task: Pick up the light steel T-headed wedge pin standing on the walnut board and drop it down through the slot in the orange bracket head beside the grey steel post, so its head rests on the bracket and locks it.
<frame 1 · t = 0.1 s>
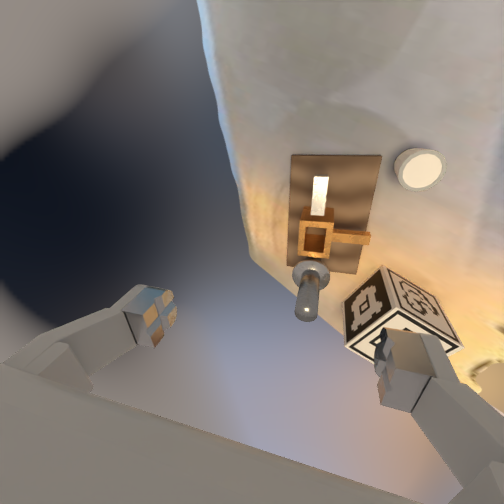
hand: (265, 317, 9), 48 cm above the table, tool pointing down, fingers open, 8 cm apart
wedge pin: (321, 184, 51), point 1 cm above the table, touching base board
base board: (326, 217, 55), on the table
ringlock node: (328, 265, 48), on the base board, point 12 cm above the table
white short cylinder: (410, 163, 46), on the table
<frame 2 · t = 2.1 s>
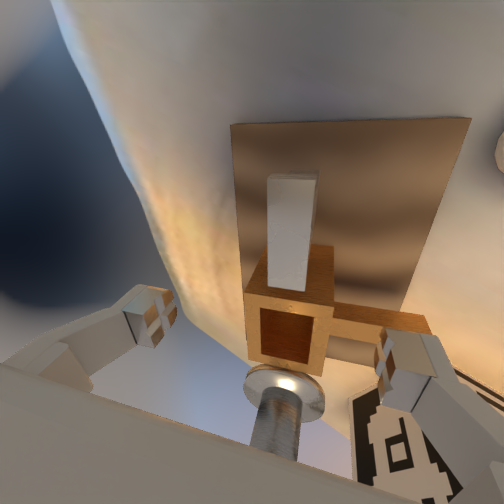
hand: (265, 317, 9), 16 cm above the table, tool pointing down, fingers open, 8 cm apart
wedge pin: (303, 192, 21), point 1 cm above the table, touching base board
base board: (318, 262, 26), on the table
ringlock node: (319, 398, 19), on the base board, point 12 cm above the table
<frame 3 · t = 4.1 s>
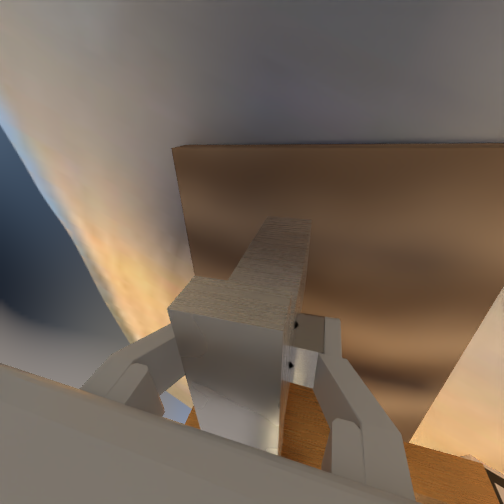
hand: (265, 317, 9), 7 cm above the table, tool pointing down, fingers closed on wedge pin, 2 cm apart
wedge pin: (287, 250, 14), point 1 cm above the table, touching base board, gripper
base board: (312, 333, 19), on the table
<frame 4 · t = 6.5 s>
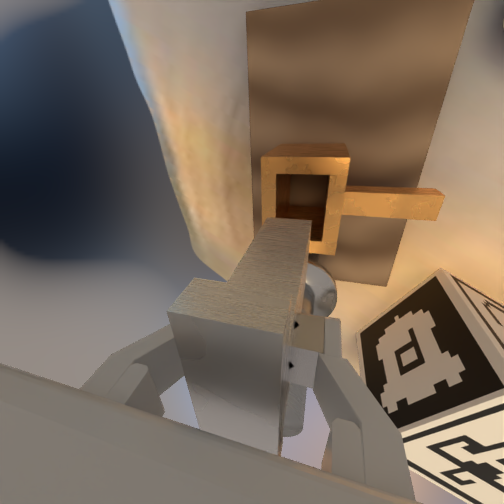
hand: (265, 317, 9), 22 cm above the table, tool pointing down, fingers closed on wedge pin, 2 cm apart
wedge pin: (287, 250, 14), point 17 cm above the table, touching gripper
base board: (328, 170, 27), on the table
ringlock node: (334, 270, 20), on the base board, point 12 cm above the table
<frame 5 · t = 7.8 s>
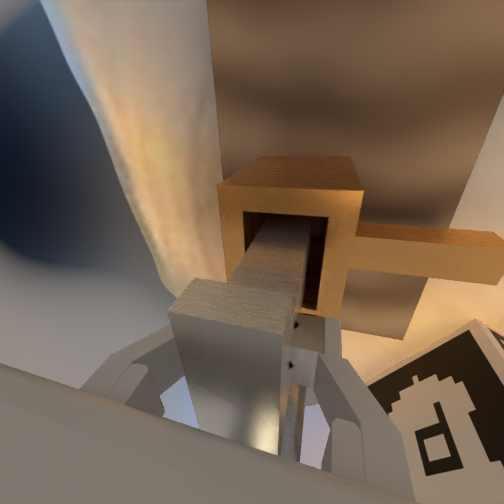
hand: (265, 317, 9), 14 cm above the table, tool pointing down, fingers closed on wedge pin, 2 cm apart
wedge pin: (287, 251, 14), point 8 cm above the table, touching gripper
base board: (327, 192, 20), on the table
ringlock node: (335, 359, 13), on the base board, point 12 cm above the table
when the fingers open (11 cm above the table, at t = 8.9 s): wedge pin drops 3 cm, resting on ringlock node.
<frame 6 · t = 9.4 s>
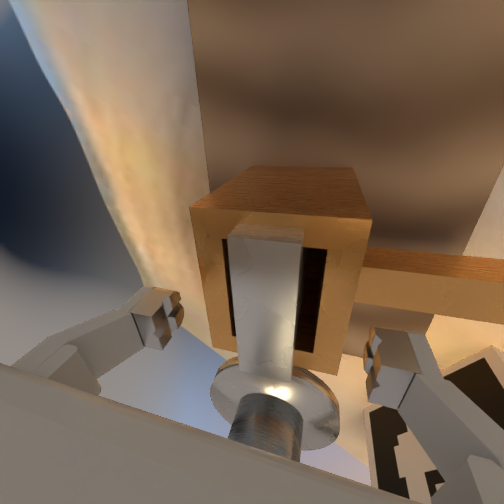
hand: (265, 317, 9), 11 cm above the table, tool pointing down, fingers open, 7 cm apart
wedge pin: (294, 226, 17), point 2 cm above the table, touching ringlock node
base board: (327, 205, 18), on the table
ringlock node: (335, 415, 10), on the base board, point 12 cm above the table
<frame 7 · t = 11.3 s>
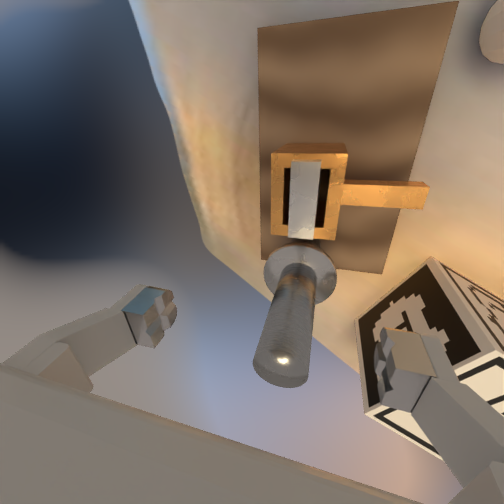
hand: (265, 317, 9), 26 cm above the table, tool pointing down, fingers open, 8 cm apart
wedge pin: (310, 179, 29), point 2 cm above the table, touching ringlock node
base board: (329, 167, 30), on the table
ringlock node: (334, 252, 22), on the base board, point 12 cm above the table
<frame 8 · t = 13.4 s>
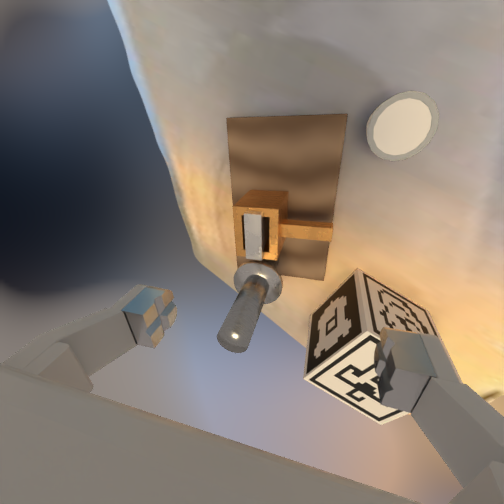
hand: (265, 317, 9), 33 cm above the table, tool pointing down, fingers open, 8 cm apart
wedge pin: (268, 214, 41), point 2 cm above the table, touching ringlock node
base board: (282, 205, 42), on the table
ringlock node: (275, 269, 34), on the base board, point 12 cm above the table
white short cylinder: (388, 125, 32), on the table
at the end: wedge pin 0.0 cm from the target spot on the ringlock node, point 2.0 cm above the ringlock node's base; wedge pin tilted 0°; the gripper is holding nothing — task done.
